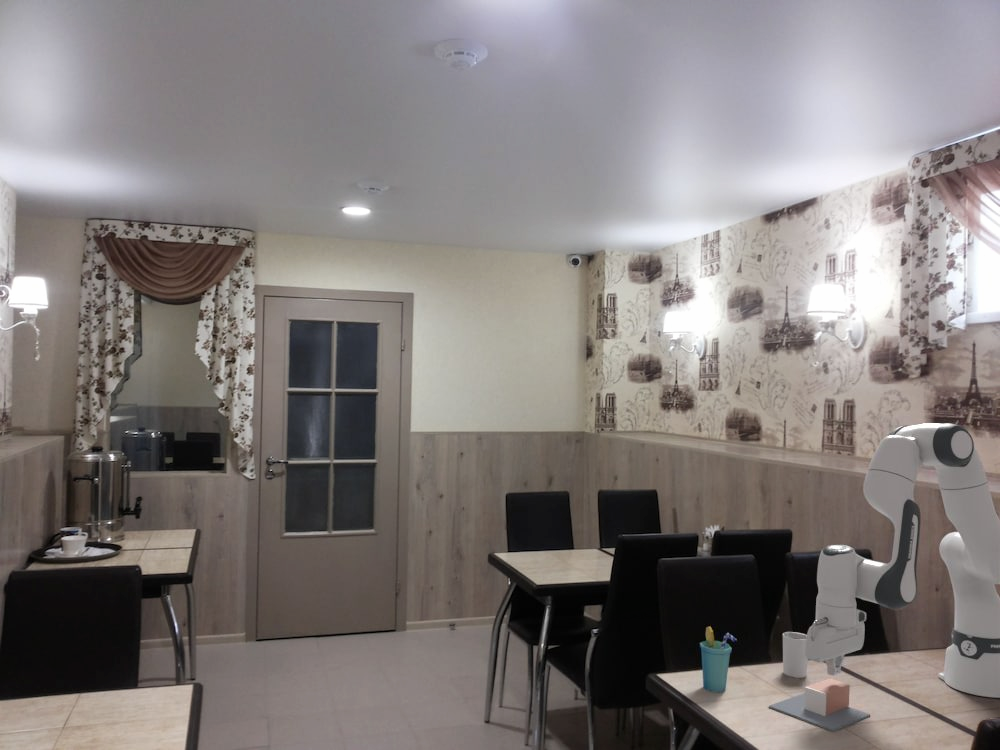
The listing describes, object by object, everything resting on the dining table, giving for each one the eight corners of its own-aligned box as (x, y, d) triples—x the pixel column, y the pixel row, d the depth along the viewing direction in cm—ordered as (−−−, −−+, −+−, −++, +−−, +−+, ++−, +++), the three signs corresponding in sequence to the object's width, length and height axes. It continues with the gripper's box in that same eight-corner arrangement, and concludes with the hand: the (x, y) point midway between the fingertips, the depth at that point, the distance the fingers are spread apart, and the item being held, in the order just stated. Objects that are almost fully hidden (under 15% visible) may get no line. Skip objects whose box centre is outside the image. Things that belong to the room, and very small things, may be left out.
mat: (806, 694, 200) (806, 692, 200) (870, 715, 188) (870, 714, 188) (768, 707, 190) (768, 705, 190) (833, 731, 178) (833, 729, 178)
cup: (747, 698, 195) (749, 635, 196) (720, 701, 193) (722, 637, 193) (713, 678, 208) (715, 619, 209) (686, 681, 206) (689, 621, 206)
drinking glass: (803, 680, 210) (805, 641, 210) (777, 673, 214) (779, 635, 214) (811, 673, 215) (812, 635, 216) (786, 667, 219) (787, 630, 220)
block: (829, 678, 196) (804, 687, 189) (849, 684, 192) (825, 693, 185) (829, 699, 196) (804, 708, 189) (848, 705, 192) (824, 716, 185)
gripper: (824, 624, 184) (822, 686, 184) (870, 612, 197) (868, 670, 196) (799, 617, 189) (797, 678, 189) (845, 606, 202) (843, 662, 201)
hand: (833, 673), depth 193 cm, fingers closed
